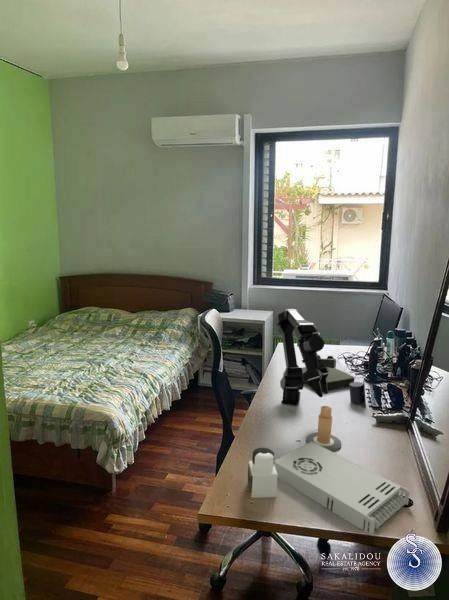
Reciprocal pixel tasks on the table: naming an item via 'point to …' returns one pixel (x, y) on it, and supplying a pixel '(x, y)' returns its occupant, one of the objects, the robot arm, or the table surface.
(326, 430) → the wooden bottle
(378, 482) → the power supply unit
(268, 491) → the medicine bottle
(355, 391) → the speaker
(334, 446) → the charcoal pad
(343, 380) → the network switch
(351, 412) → the table surface
